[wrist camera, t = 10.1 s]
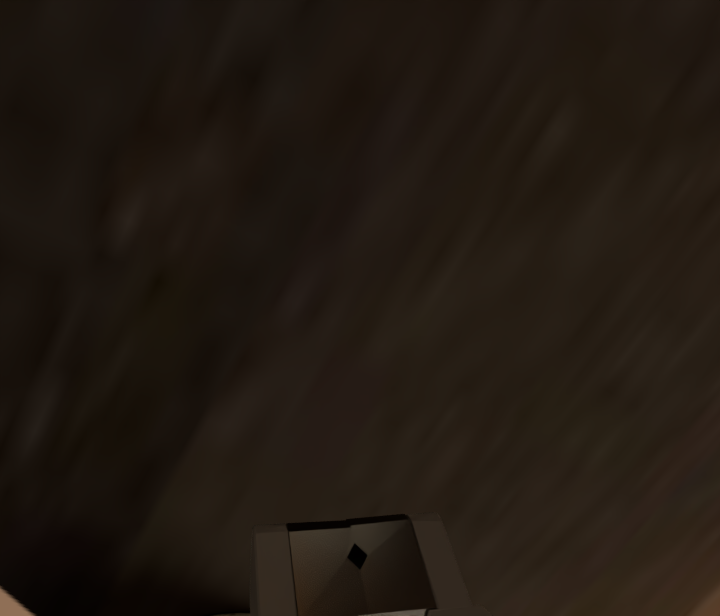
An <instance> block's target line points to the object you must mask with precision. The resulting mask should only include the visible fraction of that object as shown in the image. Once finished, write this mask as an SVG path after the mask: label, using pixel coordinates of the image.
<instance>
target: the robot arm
mask: <svg viewBox="0 0 720 616" xmlns="http://www.w3.org/2000/svg"><path fill="white" fill-rule="evenodd" d="M250 616H493V615H492V614H491V613H489V612H488V611H487V610H486V609H485V608H484V607H483V606H482V605H472V604H471V601H470V598H469V595H468V592H467V590H466V587H465V584H464V581H463V578H462V576H461V573H460V570H459V567H458V564H457V562H456V559H455V556H454V553H453V550H452V547H451V545H450V542H449V539H448V536H447V533H446V531H445V528H444V525H443V522H442V519H441V518H440V516H439V515H438V514H437V513H434V512H431V513H420V514H409V515H405V514H397V515H386V516H375V517H364V518H353V519H346V520H342V521H323V522H303V523H287V524H285V523H282V524H267V525H254V526H253V528H252V544H251V562H250Z"/></svg>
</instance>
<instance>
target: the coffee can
mask: <svg viewBox="0 0 720 616" xmlns="http://www.w3.org/2000/svg"><path fill="white" fill-rule="evenodd" d="M211 616H250V613H224V614H216V615H211Z"/></svg>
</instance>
